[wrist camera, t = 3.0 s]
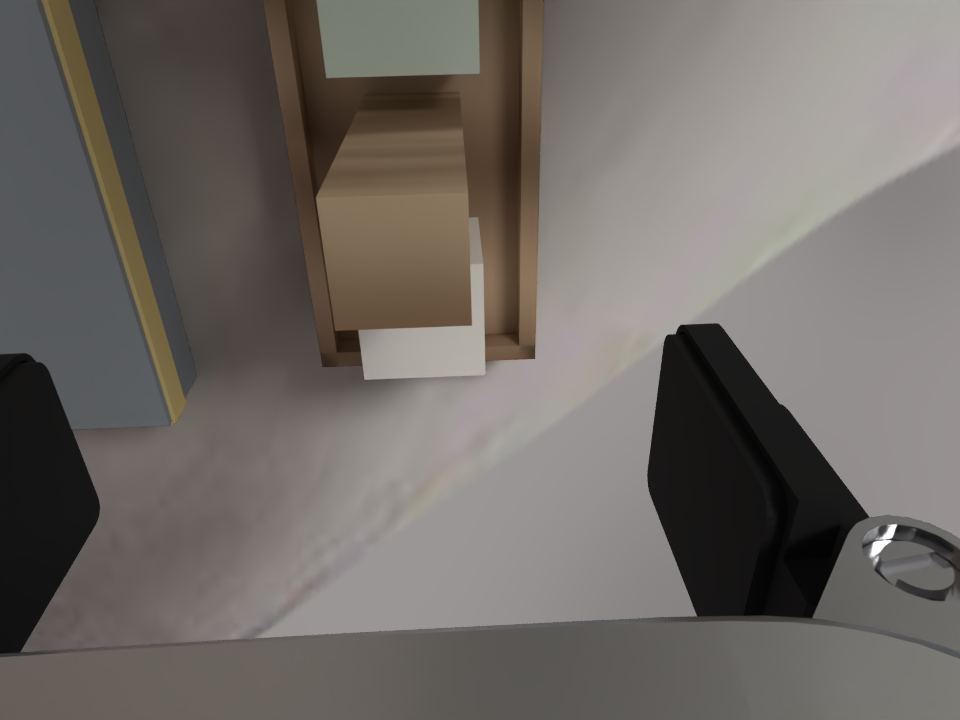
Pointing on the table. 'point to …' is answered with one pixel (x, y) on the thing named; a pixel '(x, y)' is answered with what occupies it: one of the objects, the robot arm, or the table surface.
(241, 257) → the table surface
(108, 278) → the grey flat block
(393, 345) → the light grey cube
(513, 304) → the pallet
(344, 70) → the pale green cube
